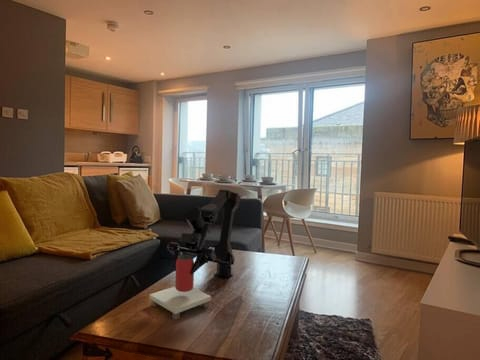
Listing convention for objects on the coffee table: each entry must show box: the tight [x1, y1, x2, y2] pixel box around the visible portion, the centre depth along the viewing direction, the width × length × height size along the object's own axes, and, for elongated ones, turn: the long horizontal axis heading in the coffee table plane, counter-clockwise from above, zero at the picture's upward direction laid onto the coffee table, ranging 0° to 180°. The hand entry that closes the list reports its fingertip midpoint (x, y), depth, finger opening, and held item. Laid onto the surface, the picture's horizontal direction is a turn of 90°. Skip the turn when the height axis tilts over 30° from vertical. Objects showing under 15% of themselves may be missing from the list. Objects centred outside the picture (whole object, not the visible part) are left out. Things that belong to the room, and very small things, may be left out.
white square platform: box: [148, 286, 212, 320], centre depth 122 cm, size 16×16×4 cm
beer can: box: [174, 254, 195, 292], centre depth 121 cm, size 7×7×12 cm
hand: (182, 272), depth 119 cm, fingers closed on beer can, 7 cm apart
